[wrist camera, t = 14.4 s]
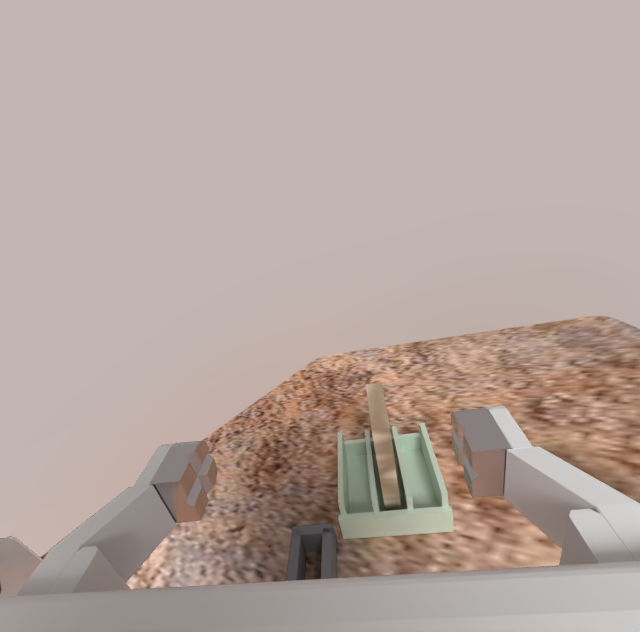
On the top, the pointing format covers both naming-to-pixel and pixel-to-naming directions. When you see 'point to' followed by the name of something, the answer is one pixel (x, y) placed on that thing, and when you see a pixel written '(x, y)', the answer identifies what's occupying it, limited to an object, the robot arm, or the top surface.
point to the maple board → (383, 446)
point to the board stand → (312, 540)
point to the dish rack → (413, 483)
